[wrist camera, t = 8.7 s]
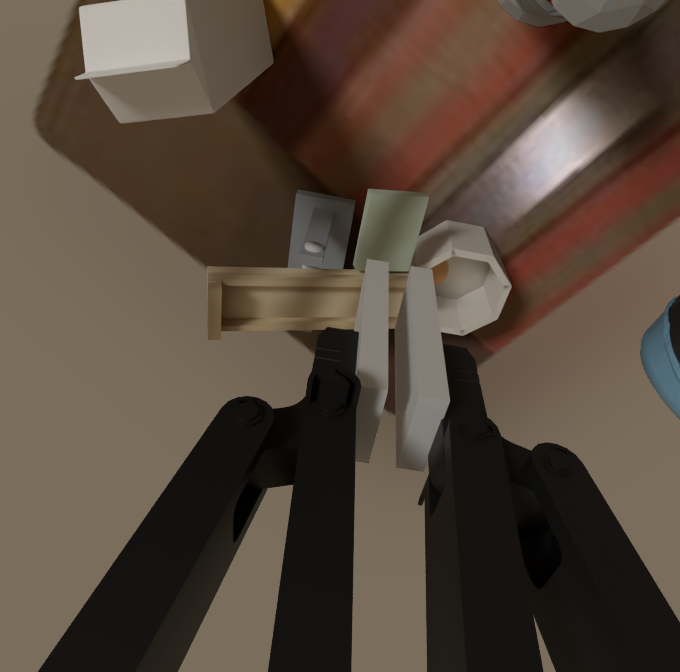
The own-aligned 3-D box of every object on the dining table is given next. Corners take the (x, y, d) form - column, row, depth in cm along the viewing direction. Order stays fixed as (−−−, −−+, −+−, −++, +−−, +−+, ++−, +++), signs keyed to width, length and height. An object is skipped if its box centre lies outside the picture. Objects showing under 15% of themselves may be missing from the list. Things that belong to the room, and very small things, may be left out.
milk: (274, 63, 44) (200, 130, 27) (209, 71, 45) (95, 142, 28) (260, -21, 41) (163, -7, 23) (189, -11, 42) (44, 11, 24)
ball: (453, 266, 50) (422, 260, 50) (444, 293, 52) (414, 287, 52) (451, 252, 53) (421, 246, 53) (443, 277, 55) (414, 272, 55)
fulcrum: (355, 200, 51) (348, 251, 42) (340, 283, 57) (330, 344, 48) (297, 189, 51) (277, 238, 42) (288, 273, 57) (268, 333, 48)
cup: (509, 231, 52) (522, 261, 47) (479, 306, 57) (488, 340, 52) (420, 215, 52) (423, 243, 46) (399, 291, 57) (400, 324, 52)
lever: (430, 192, 42) (446, 210, 39) (396, 314, 49) (407, 336, 47) (207, 177, 37) (208, 196, 34) (207, 316, 44) (208, 340, 42)
